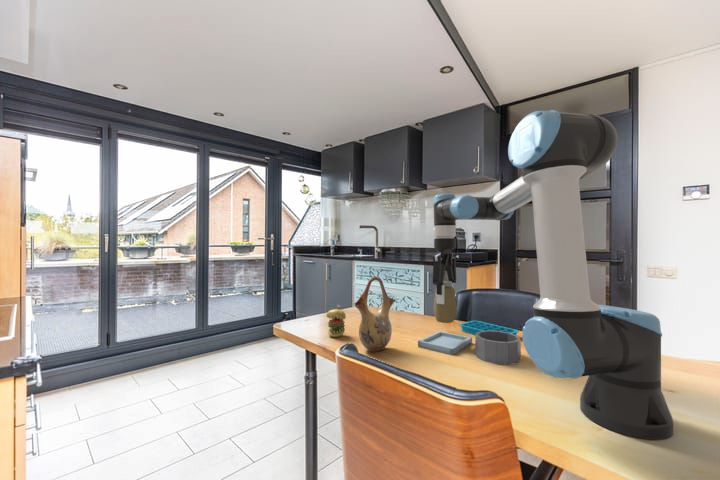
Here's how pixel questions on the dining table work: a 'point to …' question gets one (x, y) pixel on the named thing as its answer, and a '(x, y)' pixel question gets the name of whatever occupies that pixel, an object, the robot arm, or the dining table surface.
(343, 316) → the hamburger
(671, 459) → the dining table surface
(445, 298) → the squeeze bottle
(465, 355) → the dining table surface
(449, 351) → the tray
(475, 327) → the ice cube tray
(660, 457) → the dining table surface
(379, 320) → the ceramic vessel
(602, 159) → the robot arm
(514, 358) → the grey faceted ring
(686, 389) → the dining table surface
